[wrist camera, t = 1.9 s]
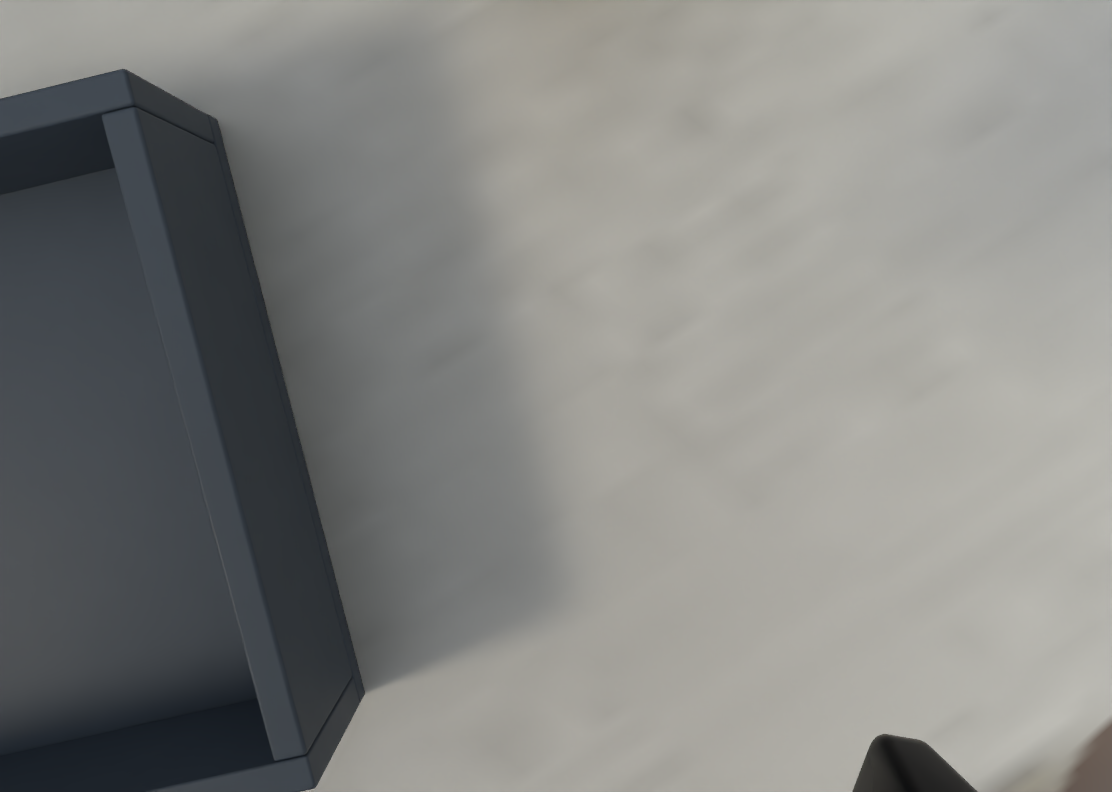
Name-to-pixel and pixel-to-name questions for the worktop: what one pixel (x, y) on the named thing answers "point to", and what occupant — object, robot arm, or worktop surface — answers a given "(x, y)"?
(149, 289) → the tub
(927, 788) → the robot arm
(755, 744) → the worktop surface
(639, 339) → the worktop surface
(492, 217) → the worktop surface
